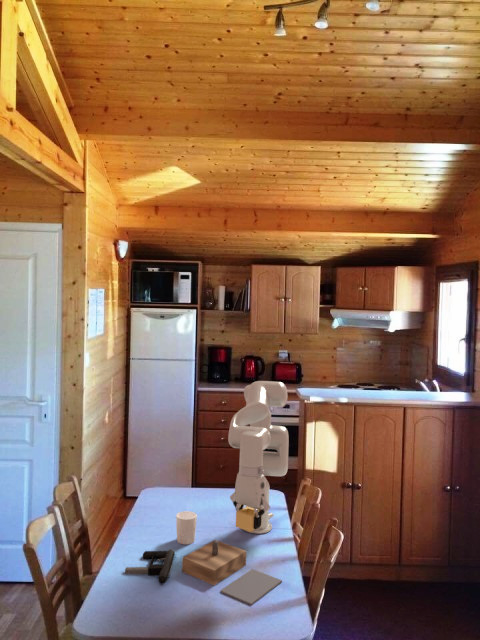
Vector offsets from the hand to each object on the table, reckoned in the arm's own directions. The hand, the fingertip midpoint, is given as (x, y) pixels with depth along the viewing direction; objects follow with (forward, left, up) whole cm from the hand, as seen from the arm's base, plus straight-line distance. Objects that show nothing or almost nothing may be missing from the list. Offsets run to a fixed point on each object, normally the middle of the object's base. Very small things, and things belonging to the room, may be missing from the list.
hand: (248, 524), depth 176 cm
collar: (0, 0, -1) cm, 1 cm away
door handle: (+12, -32, -20) cm, 40 cm away
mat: (0, +2, -20) cm, 20 cm away
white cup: (-12, -37, -20) cm, 44 cm away
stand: (-2, -15, -20) cm, 25 cm away
